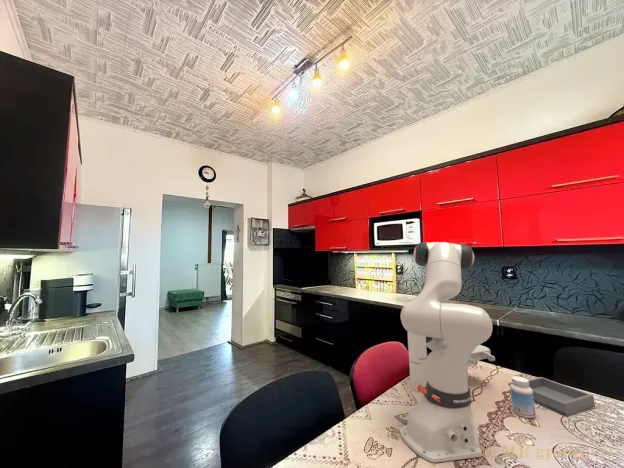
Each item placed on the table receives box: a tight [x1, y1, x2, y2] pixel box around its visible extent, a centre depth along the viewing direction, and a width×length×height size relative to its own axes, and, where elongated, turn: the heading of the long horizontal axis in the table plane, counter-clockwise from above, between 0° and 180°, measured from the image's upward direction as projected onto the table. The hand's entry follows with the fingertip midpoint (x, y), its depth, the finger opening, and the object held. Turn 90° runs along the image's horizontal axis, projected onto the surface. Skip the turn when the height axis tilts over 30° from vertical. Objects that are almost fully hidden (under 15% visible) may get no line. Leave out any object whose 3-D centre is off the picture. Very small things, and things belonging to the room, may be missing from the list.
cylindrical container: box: [406, 330, 428, 393], centre depth 107 cm, size 7×7×25 cm
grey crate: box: [528, 376, 596, 418], centre depth 95 cm, size 16×16×4 cm
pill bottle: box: [509, 375, 536, 419], centre depth 87 cm, size 6×6×11 cm
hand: (485, 360), depth 100 cm, fingers open, 8 cm apart
